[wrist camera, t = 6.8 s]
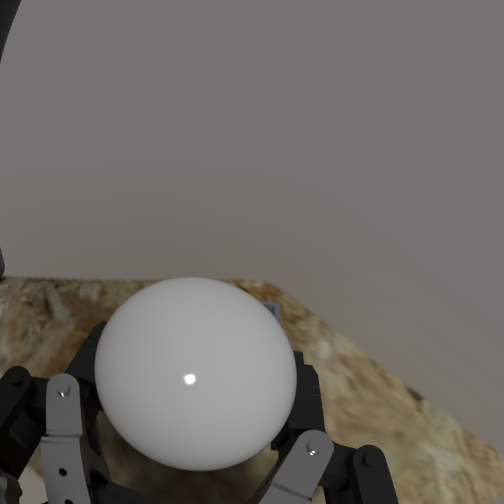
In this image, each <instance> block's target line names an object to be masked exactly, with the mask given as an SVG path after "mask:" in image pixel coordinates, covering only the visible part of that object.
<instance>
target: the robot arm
mask: <svg viewBox="0 0 504 504" xmlns="http://www.w3.org/2000/svg"><path fill="white" fill-rule="evenodd" d="M20 2H21V0H0V61H1V57H2V52H3V50H4V46H5V43H6V40H7V37H8V34H9V30H10V28H11V25H12V23H13V20H14V17H15V15H16V12H17V10H18V7H19V4H20ZM4 268H5V266H4V261H3V257H2V253H1V249H0V279H1V277H2V275H3V273H4ZM106 324H107V322H105V321H102V322H100V323H99V324H98V325H96V326H95V327H93V329H92V330H91V332H90V333H89V335H88V338H86V340H85V341H84V343H83V345H82V346H81V347H80V349H79V350H78V352H77V354H76V355H75V357H74V358H73V360H72V362H71V363H70V365H69V367H68V368H67V370H66V371H65V372H64V373H62V374H57V375H55V376H53V377H52V378H51V379H45V378H38V377H32V376H31V375H30V373H29V372H28V370H27V369H26V368H24V367H22V366H14V367H12V368H10V369H9V370H8V371H7V372H6V373H5V374H4V375H3V377H2V378H1V379H0V504H19V498H20V496H21V495H22V493H23V492H22V489H21V488H20V485H19V482H18V479H19V477H20V475H21V474H22V472H23V470H24V468H25V467H26V465H27V463H28V461H29V460H30V458H31V456H32V454H33V453H34V451H35V449H36V448H37V446H38V444H39V443H40V441H41V456H42V466H43V474H44V481H45V487H46V493H47V498H48V501H47V502H45V503H42V504H160V503H158V502H156V501H154V500H152V499H150V498H148V497H146V496H144V495H143V494H141V493H139V492H137V491H135V490H132V489H129V488H127V487H124V486H121V485H118V484H116V483H113V482H112V480H111V476H110V472H109V469H108V467H107V464H106V462H105V460H104V456H103V452H102V446H101V440H100V434H99V427H98V420H97V415H98V413H99V410H101V411H103V412H104V410H103V408H102V405H101V403H100V400H99V397H98V393H97V389H96V384H95V375H94V364H95V355H96V349H97V345H98V342H99V339H100V336H101V334H102V331H103V329H104V327H105V325H106ZM293 353H294V357H295V362H296V369H297V388H296V395H295V400H294V403H293V407H292V410H291V412H290V415H289V417H288V419H287V421H286V423H285V425H284V426H283V428H282V429H281V431H280V432H279V434H278V435H277V436H276V437H275V438H274V440H273V441H272V442H271V450H277V451H279V455H278V460H277V461H276V463H275V464H274V466H273V467H272V469H271V470H270V472H269V473H268V475H267V476H266V477H265V479H264V480H263V482H262V483H261V485H260V486H259V487H258V489H257V490H256V492H255V493H254V494H253V495H252V496H251V498H250V499H249V500H248V501H247V502H246V503H245V504H312V500H311V496H312V494H313V492H314V490H315V488H316V486H317V485H318V486H322V487H323V490H324V495H325V501H326V504H399V503H398V499H397V496H396V492H395V489H394V485H393V482H392V478H391V475H390V472H389V468H388V465H387V462H386V459H385V456H384V453H383V452H382V451H381V450H380V449H379V448H378V447H376V446H374V445H364V446H362V447H360V448H358V449H355V448H351V447H347V446H343V445H340V444H337V443H335V442H334V441H332V440H331V438H330V437H329V436H328V435H327V433H326V431H325V426H324V418H323V409H322V401H321V397H320V395H321V393H320V388H319V378H318V374H317V373H316V371H315V369H314V368H313V366H312V365H305V364H304V360H303V353H302V352H301V351H293ZM45 433H46V434H45ZM66 474H67V475H66Z"/></svg>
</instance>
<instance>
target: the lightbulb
mask: <svg viewBox="0 0 504 504" xmlns="http://www.w3.org/2000/svg"><path fill="white" fill-rule="evenodd" d="M94 375H95V384H96V389H97V393H98V397H99V400H100V403H101V405H102V408H103V410H104V412H105V414H106V416H107V418H108V419H109V421H110V423H111V424H112V425H113V427H114V428H115V430H116V431H117V432H118V433H119V434H120V436H121V437H122V438H123V439H124V440H125V441H126V442H127V443H128V444H130V445H131V446H132V447H133V448H134V449H136V450H137V451H139V452H140V453H141V454H143V455H145V456H146V457H148V458H150V459H152V460H154V461H156V462H158V463H161V464H163V465H166V466H169V467H173V468H177V469H182V470H188V471H212V470H219V469H224V468H228V467H231V466H234V465H237V464H239V463H242V462H244V461H246V460H248V459H250V458H252V457H253V456H255V455H256V454H258V453H259V452H261V451H262V450H263V449H264V448H265V447H267V446H268V445H269V444H270V443H271V442H272V441H273V440H274V438H275V437H276V436H277V435H278V434H279V432H280V431H281V429H282V428H283V426H284V425H285V423H286V421H287V419H288V417H289V415H290V412H291V410H292V407H293V403H294V400H295V395H296V388H297V369H296V362H295V357H294V353H293V350H292V347H291V344H290V341H289V339H288V337H287V335H286V333H285V331H284V329H283V328H282V326H281V325H280V323H279V322H278V320H277V319H276V318H275V317H274V315H273V314H272V313H271V312H270V311H269V310H268V309H267V308H266V307H265V306H264V305H263V304H262V303H261V302H260V301H258V300H257V299H256V298H254V297H253V296H252V295H250V294H248V293H247V292H245V291H243V290H242V289H240V288H238V287H236V286H233V285H231V284H228V283H225V282H222V281H219V280H215V279H210V278H204V277H177V278H171V279H166V280H163V281H159V282H156V283H154V284H151V285H149V286H147V287H145V288H143V289H141V290H139V291H138V292H136V293H135V294H133V295H132V296H130V297H129V298H128V299H127V300H125V301H124V302H123V303H122V304H121V305H120V306H119V307H118V308H117V310H116V311H115V312H114V313H113V314H112V316H111V317H110V319H109V320H108V322H107V324H106V325H105V327H104V329H103V331H102V334H101V336H100V339H99V342H98V345H97V349H96V355H95V364H94Z"/></svg>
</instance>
